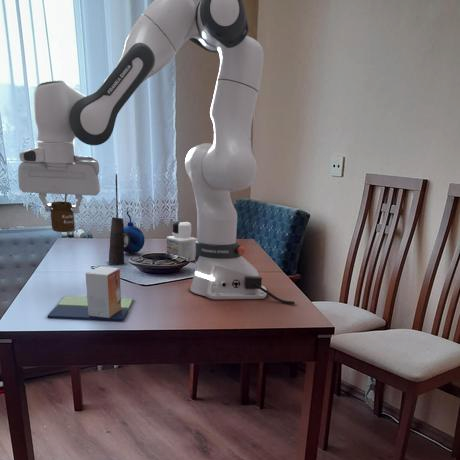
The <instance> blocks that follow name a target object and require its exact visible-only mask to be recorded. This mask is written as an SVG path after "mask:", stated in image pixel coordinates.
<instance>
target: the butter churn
mask: <svg viewBox="0 0 460 460" xmlns="http://www.w3.org/2000/svg"><path fill="white" fill-rule="evenodd" d="M118 197H119V196H118V174H117V173H116V174H115V203H116V204H115V212H116V213H115V217H111V223H110V234H109V247H108V249H109V250H108V264H109V265H114V266H118V265H124V264H125V252H124V227H125V225H124V218H123V217H119V205H118V204H119V202H118Z"/></svg>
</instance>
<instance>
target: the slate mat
mask: <svg viewBox="0 0 460 460" xmlns="http://www.w3.org/2000/svg"><path fill="white" fill-rule="evenodd" d="M128 312H129V310H128V309H121V310H120V311H118V312H117V313H115V314H114V315H113V316H111V317H110V318H104V317H95V316H89V315H88V308H87V307H65V306H58V305H56V306H55V307H54V308H53V309H52V310H51V311H50V312H49V314H48V315H47V319H61V320H62V319H63V320H84V321H103V322H104V321H108V322H124V321H125V318H126V316H127V314H128Z"/></svg>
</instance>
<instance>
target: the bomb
mask: <svg viewBox="0 0 460 460" xmlns="http://www.w3.org/2000/svg"><path fill="white" fill-rule="evenodd" d="M126 215H127V216H128V218H129V221H128V222H127V225H124V253H126V254H137V253H138V252H140V251H141V250H142V249H143V248H144V246H145V240H146V239H145V235H144V232H143V231H142V229H140V228H139V227H138V226H136V225H134V222H133V221H132V218H131V216H130V214H129V210H126Z"/></svg>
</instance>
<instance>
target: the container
mask: <svg viewBox="0 0 460 460" xmlns="http://www.w3.org/2000/svg"><path fill="white" fill-rule="evenodd" d="M196 240H197V237H194V236H192V224H191V222H189V221H186V220H175V221H173V222H172V235H169V236H166V254H167V253H168V254H173V255H178V256H182V257H185V258H188V260H189V261H188V262H193V261H196V260H195V243H196Z"/></svg>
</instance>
